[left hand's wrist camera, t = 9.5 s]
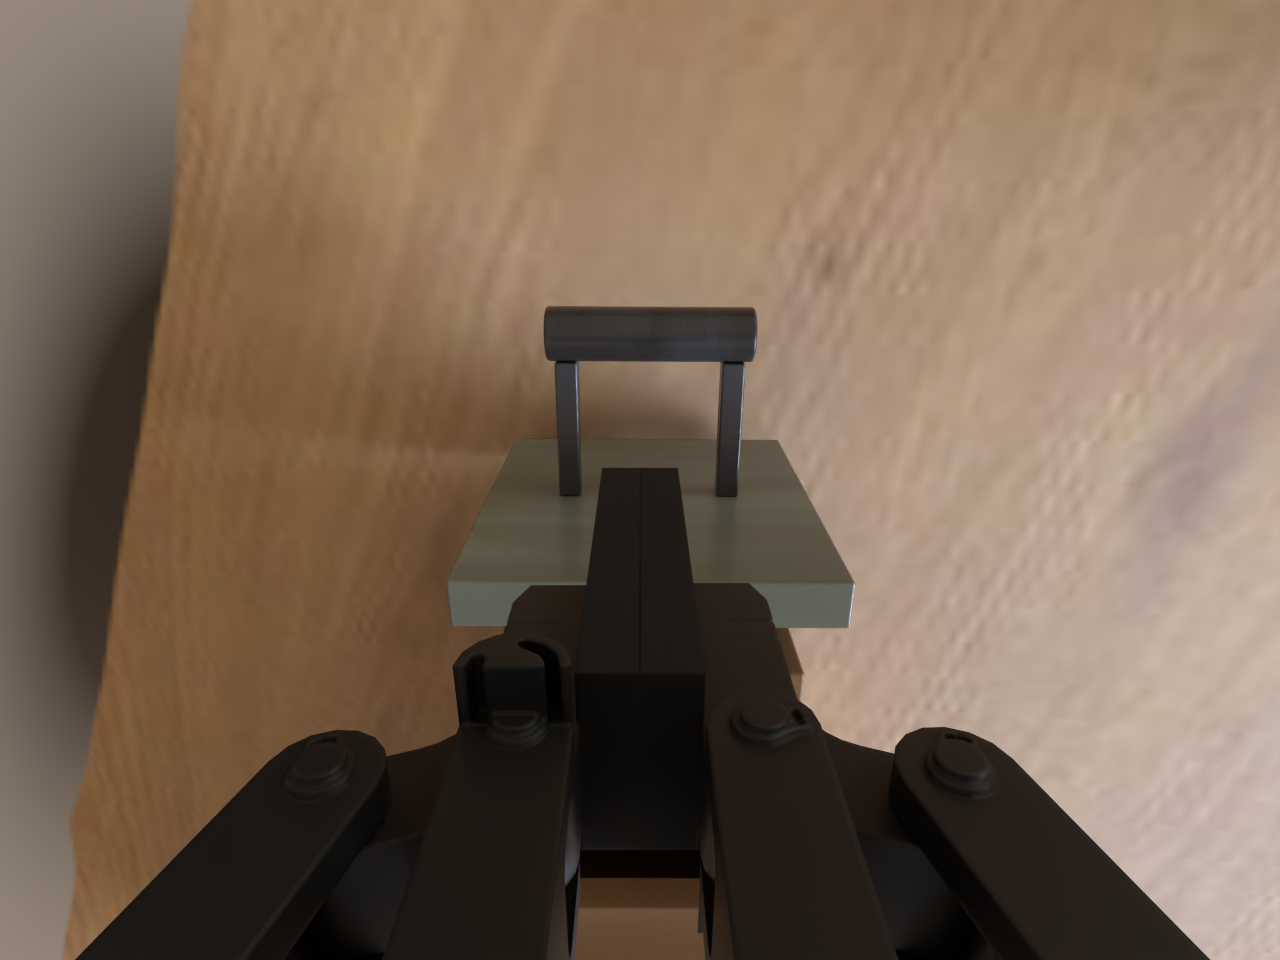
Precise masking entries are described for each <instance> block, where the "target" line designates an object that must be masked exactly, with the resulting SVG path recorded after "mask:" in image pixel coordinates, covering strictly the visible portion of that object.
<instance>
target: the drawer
mask: <svg viewBox="0 0 1280 960" xmlns="http://www.w3.org/2000/svg"><path fill="white" fill-rule="evenodd" d="M756 345H757V316H756V312H755V309H754V308H752V307H594V306H548V307H547V308H546V310H545V314H544V347H545V354H546V357H547V360H549V361H556V363H555V388H556V413H557V439H516V440H515V442H514V444H513V446H512V448H511V450H510V452H509V455H508V457H507V459H506V461H505V463H504V465H503V467H502V469H501V471H500V473H499V475H498V477H497V479H496V481H495V483H494V485H493V487H492V489H491V491H490V493H489V495H488V497H487V499H486V501H485V503H484V505H483V508H482V510H481V512H480V514H479V516H478V518H477V520H476V522H475V524H474V526H473V528H472V530H471V532H470V534H469V536H468V538H467V540H466V542H465V544H464V546H463V548H462V550H461V552H460V554H459V556H458V559H457V561H456V563H455V565H454V567H453V569H452V571H451V573H450V575H449V577H448V579H447V581H446V585H447V594H448V603H449V613H450V622H451V625H452V626H507V621H508V617H509V614H510V611H511V607H512V604H513V602H514V601H515V600H516V599H517V598H518V597H519V596H520V595H521V594H522V593H523V592H524V591H525V590H526V589H528V588H529V587H530V586H531V585H586V583H587V576H588V568H589V561H590V554H591V546H592V539H593V531H594V524H595V516H596V509H597V502H598V494H599V487H600V479H601V472H602V468H678V472H679V479H680V487H681V494H682V502H683V509H684V516H685V524H686V531H687V539H688V546H689V554H690V561H691V568H692V576H693V583H750V584H751V585H752V586H753V587H754V588H755V589H756V590H757V591H758V592H759V593H760V594H761V595H762V596H764V597H765V598H766V599H767V601H768V605H769V608H770V611H771V614H772V618H773V623H774V624H775V627H776V631H777V634H778V640H780V644H781V647H782V650H783V653H784V657H785V660H786V663H787V666H788V670H789V673H790V676H791V680H792V683H793V686H794V689H795V693H796V696H797V699H798V700H799V701H800V702H801V701H802V692H803V683H804V672H803V669H802V666H801V663H800V660H799V657H798V654H797V651H796V648H795V645H794V642H793V640H792V637H791V634H790V631H789V628H849V626H850V619H851V611H852V603H853V596H854V588H855V582H854V580H853V579H852V577H851V575H850V573H849V571H848V569H847V568H846V566H845V564H844V562H843V560H842V558H841V556H840V555H839V553H838V551H837V549H836V547H835V545H834V543H833V542H832V540H831V538H830V536H829V534H828V532H827V530H826V529H825V527H824V525H823V523H822V521H821V519H820V518H819V516H818V514H817V512H816V510H815V508H814V506H813V505H812V503H811V501H810V499H809V497H808V495H807V493H806V492H805V490H804V488H803V486H802V484H801V482H800V480H799V479H798V477H797V475H796V473H795V471H794V469H793V468H792V466H791V464H790V462H789V460H788V458H787V456H786V455H785V453H784V451H783V449H782V447H781V445H780V443H779V442H778V440H741V429H742V412H743V395H744V379H745V364H744V362H751V361H753V359H754V356H755V352H756ZM579 361H658V362H720V384H719V405H718V426H717V440H658V439H581V425H580V387H579ZM579 864H580V878H700V864H701V853H700V842H699V850H581V845H580V856H579Z"/></svg>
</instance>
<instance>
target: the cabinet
mask: <svg viewBox="0 0 1280 960" xmlns="http://www.w3.org/2000/svg"><path fill="white" fill-rule="evenodd" d="M580 888H581V890H580V902H579V914H578V927H577V939H576V951H575V960H705V950H704V938H703V933H698V912H699V888H700V878H580Z"/></svg>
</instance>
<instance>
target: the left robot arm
mask: <svg viewBox="0 0 1280 960" xmlns="http://www.w3.org/2000/svg"><path fill="white" fill-rule="evenodd" d="M453 673H454V682H455V690H456V699H457V708H458V716H459V728H458V731H457V733H456V734H455V735H453V736H451V737H449V738H447V739H445V740H443V741H441V742H439V743H437V744H433V745H430V746H427V747H424V748H421V749H416V750H412V751H408V752H404V753H400V754H395V755H391V756H387V757H386V753H385V749H384V748H383V747H382V745H381V744H380V743H379V742H378V741H377V739H376V738H375V737H372V736H370V735H367V734H365V733H362V732H359V731H346V730H334V731H330V732H325V733H321V734H316V735H312V736H309V737H307V738H305V739H303V740H301V741H299V742H296V743H294V744H292V745H290V746H288V747H287V748H285V749H284V750H283V751H282V752H280V753H279V754H278V755H276V756H275V757H274V758H273V759H271V760H270V761H269V762H268V763H267V764H266V765H265V766H264V767H263V768H262V769H261V770H260V771H259V772H258V773H257V774H256V775H255V776H254V777H253V778H252V779H251V780H250V781H249V782H248V783H247V784H246V785H245V786H244V787H243V788H242V789H241V790H240V791H239V792H238V793H237V794H236V795H235V796H234V797H233V799H232V800H231V801H230V802H229V803H228V804H227V805H226V806H225V807H224V808H223V809H222V810H221V811H220V812H219V813H218V814H217V815H216V816H215V817H214V818H213V819H212V820H211V821H210V822H209V823H208V824H207V825H206V826H205V827H204V828H203V829H202V830H201V831H200V832H199V833H198V834H197V835H196V836H195V837H194V838H193V839H192V841H191V842H190V843H189V844H188V845H187V846H186V847H185V848H184V849H183V850H182V851H181V852H180V853H179V854H178V855H177V856H176V857H175V858H174V859H173V860H172V861H171V862H170V863H169V864H168V865H167V866H166V867H165V868H164V869H163V870H162V871H161V872H160V873H159V874H158V875H157V876H156V877H155V878H154V879H153V880H152V881H151V883H150V884H149V885H148V886H147V887H146V888H145V889H144V890H143V891H142V892H141V893H140V894H139V895H138V896H137V897H136V898H135V899H134V900H133V901H132V902H131V903H130V904H129V905H128V906H127V907H126V908H125V909H124V910H123V911H122V912H121V913H120V914H119V915H118V916H117V917H116V918H115V919H114V920H113V921H112V922H111V923H110V925H109V926H108V927H107V928H106V929H105V930H104V931H103V932H102V933H101V934H100V935H99V936H98V937H97V938H96V939H95V940H94V941H93V942H92V943H91V944H90V945H89V946H88V947H87V948H86V949H85V950H84V951H83V952H82V953H81V954H80V955H79V956H78V957H77V958H76V959H75V960H575V951H576V939H577V927H578V914H579V902H580V890H581V888H580V864H579V856H580V845H581V850H699V842H700V853H701V864H700V888H699V912H698V933H703V938H704V950H705V960H1210V959H1209V958H1208V957H1207V956H1206V955H1205V954H1204V953H1203V952H1202V951H1201V950H1200V949H1199V948H1198V947H1197V946H1196V945H1195V944H1194V943H1193V942H1192V941H1191V940H1190V939H1189V938H1188V937H1187V936H1186V935H1185V934H1184V933H1183V932H1182V931H1181V930H1180V929H1179V928H1178V927H1177V926H1176V925H1175V924H1174V922H1173V921H1172V920H1171V919H1170V918H1169V917H1168V916H1167V915H1166V914H1165V913H1164V912H1163V911H1162V910H1161V909H1160V908H1159V907H1158V906H1157V905H1156V904H1155V903H1154V902H1153V901H1152V900H1151V899H1150V898H1149V897H1148V896H1147V895H1146V894H1145V893H1144V892H1143V891H1142V890H1141V889H1140V888H1139V887H1138V886H1137V885H1136V884H1135V883H1134V882H1133V881H1132V880H1131V879H1130V878H1129V877H1128V876H1127V875H1126V874H1125V873H1124V872H1123V871H1122V870H1121V869H1120V868H1119V867H1118V866H1117V864H1116V863H1115V862H1114V861H1113V860H1112V859H1111V858H1110V857H1109V856H1108V855H1107V854H1106V853H1105V852H1104V851H1103V850H1102V849H1101V848H1100V847H1099V846H1098V845H1097V844H1096V843H1095V842H1094V841H1093V840H1092V839H1091V838H1090V837H1089V836H1088V835H1087V834H1086V833H1085V832H1084V831H1083V830H1082V829H1081V828H1080V827H1079V826H1078V825H1077V824H1076V823H1075V822H1074V821H1073V820H1072V819H1071V818H1070V817H1069V816H1068V815H1067V814H1066V813H1065V812H1064V811H1063V810H1062V809H1061V808H1060V807H1059V805H1058V804H1057V803H1056V802H1055V801H1054V800H1053V799H1052V798H1051V797H1050V796H1049V795H1048V794H1047V793H1046V792H1045V791H1044V790H1043V789H1042V788H1041V787H1040V786H1039V785H1038V784H1037V783H1036V782H1035V781H1034V780H1033V779H1032V778H1031V777H1030V776H1029V775H1028V774H1027V773H1026V772H1025V771H1024V770H1023V769H1022V768H1021V767H1020V766H1019V765H1018V764H1017V763H1016V762H1015V761H1014V760H1013V759H1012V758H1011V757H1010V756H1008V755H1007V754H1006V753H1005V752H1003V751H1002V750H1001V749H999V748H998V747H997V746H996V745H994V744H993V743H991V742H989V741H987V740H984V739H982V738H980V737H978V736H976V735H974V734H971V733H969V732H965V731H960V730H956V729H951V728H947V727H932V728H921V729H918V730H916V731H913V732H910V733H908V734H905V736H904V737H903V738H902V739H901V740H900V742H899V743H898V744H897V745H896V747H895V753H894V754H893V753H889V752H885V751H880V750H876V749H872V748H868V747H863V746H859V745H856V744H853V743H850V742H847V741H843V740H841V739H839V738H837V737H835V736H833V735H831V734H829V733H827V732H825V731H824V730H822V727H821V724H820V723H819V721H818V720H817V718H816V716H815V715H814V713H813V712H812V710H811V709H810V708H808V707H807V706H806V705H804V704H803V703H802V702H800V701H799V700H798V699H797V696H796V693H795V689H794V686H793V683H792V680H791V676H790V673H789V670H788V666H787V663H786V660H785V657H784V653H783V650H782V647H781V644H780V640H778V634H777V631H776V627H775V624H774V623H773V618H772V614H771V611H770V608H769V605H768V601H767V599H766V598H765V597H764V596H762V595H761V594H760V593H759V592H758V591H757V590H756V589H755V588H754V587H753V586H752V585H751V584H750V583H693V576H692V568H691V561H690V554H689V546H688V539H687V531H686V524H685V516H684V509H683V502H682V494H681V487H680V479H679V472H678V468H602V472H601V479H600V487H599V494H598V502H597V509H596V516H595V524H594V531H593V539H592V546H591V554H590V561H589V568H588V576H587V583H586V585H531V586H530V587H529V588H528V589H526V590H525V591H524V592H523V593H522V594H521V595H520V596H519V597H518V598H517V599H516V600H515V601H514V602H513V604H512V607H511V611H510V614H509V617H508V621H507V626H506V627H505V630H504V634H501V635H497V636H494V637H491V638H488V639H485V640H482V641H479V642H477V643H476V644H474V645H473V646H471V647H470V648H468V649H467V650H465V651H464V652H462V654H461V655H460V656H459V658H458V659H457V661H456V662H455V663H454V665H453Z"/></svg>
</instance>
